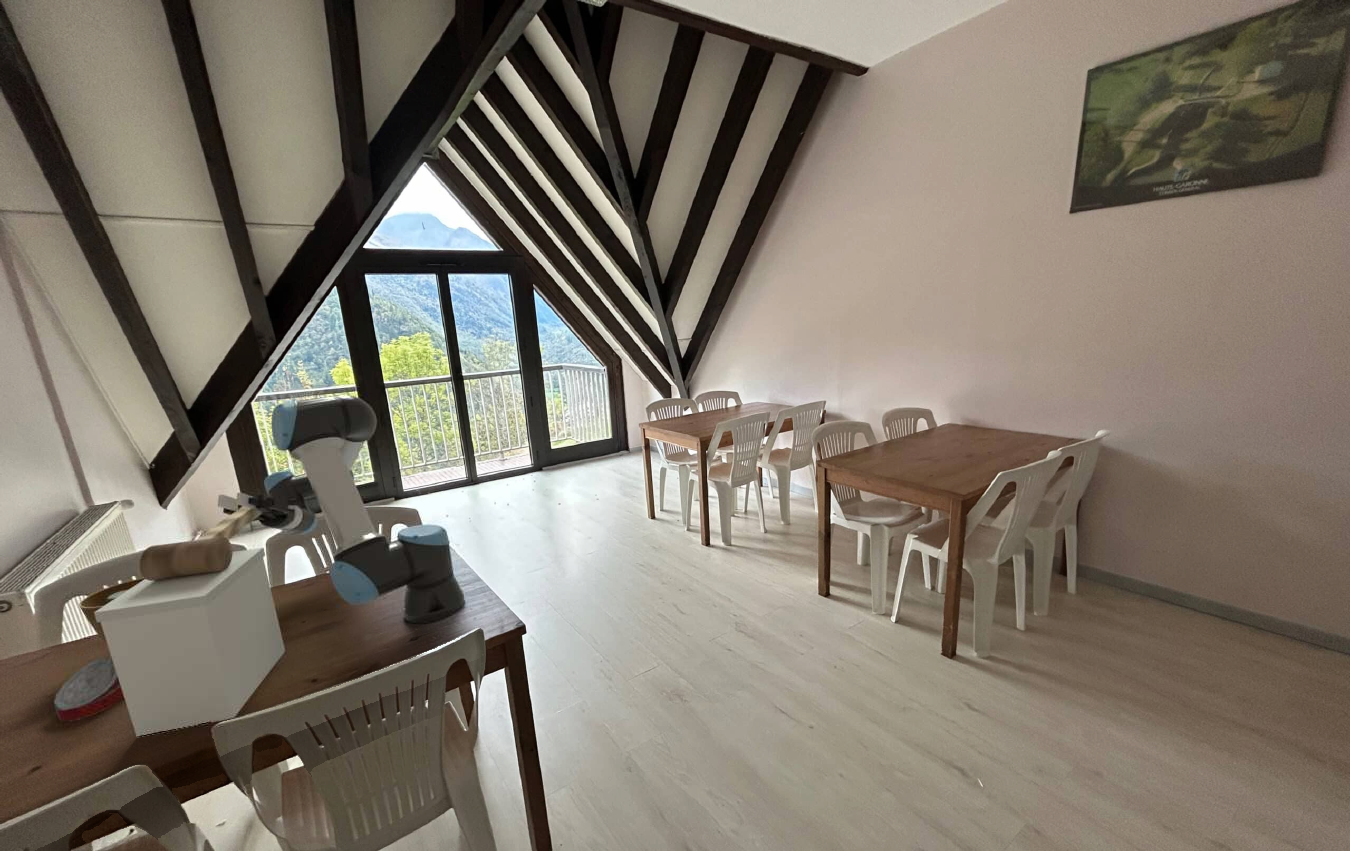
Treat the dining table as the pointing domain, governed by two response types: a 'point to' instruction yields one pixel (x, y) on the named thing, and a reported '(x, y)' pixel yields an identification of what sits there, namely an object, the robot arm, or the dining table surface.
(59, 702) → the canned food
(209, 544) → the mallet
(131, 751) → the dining table surface
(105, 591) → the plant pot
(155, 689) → the pedestal
